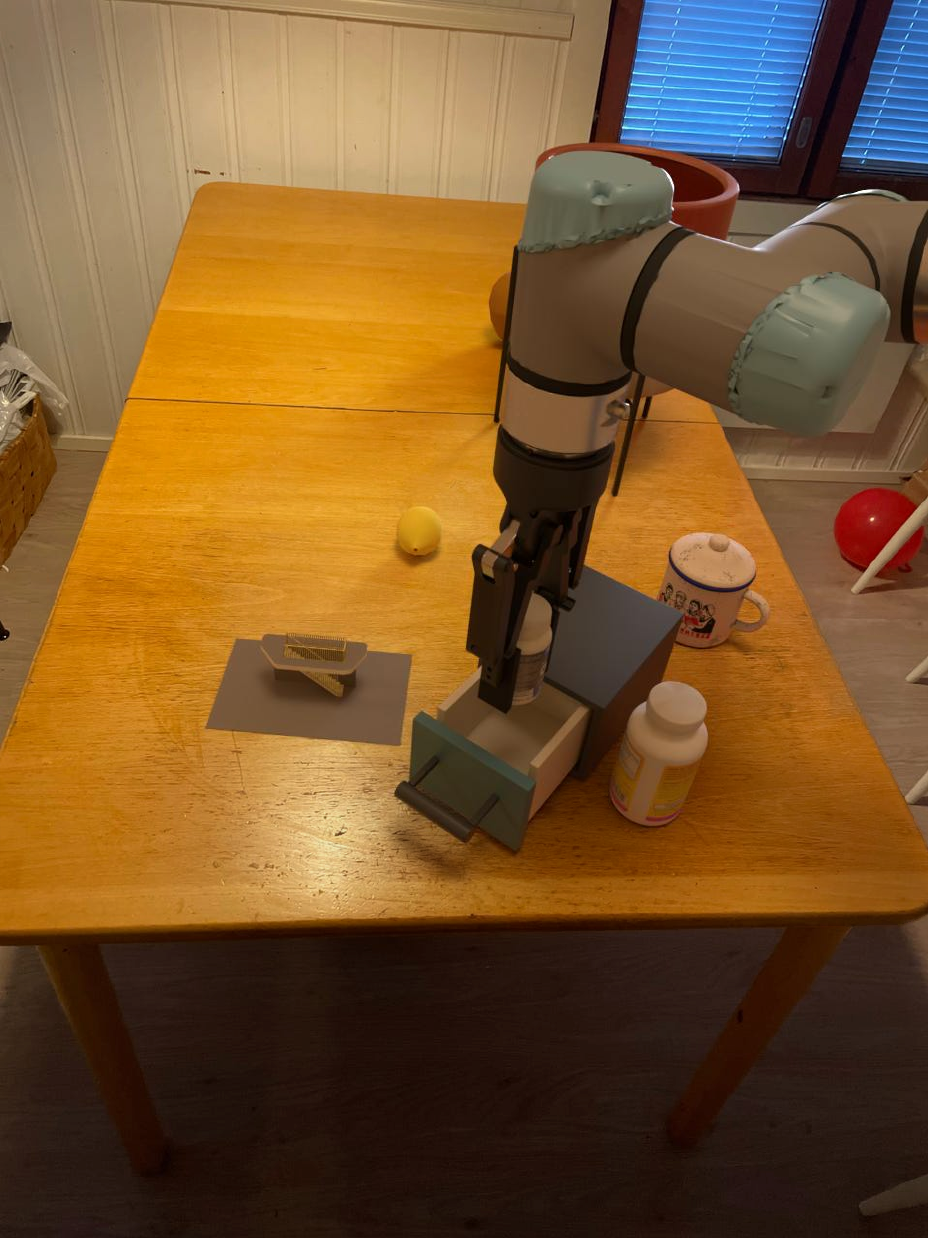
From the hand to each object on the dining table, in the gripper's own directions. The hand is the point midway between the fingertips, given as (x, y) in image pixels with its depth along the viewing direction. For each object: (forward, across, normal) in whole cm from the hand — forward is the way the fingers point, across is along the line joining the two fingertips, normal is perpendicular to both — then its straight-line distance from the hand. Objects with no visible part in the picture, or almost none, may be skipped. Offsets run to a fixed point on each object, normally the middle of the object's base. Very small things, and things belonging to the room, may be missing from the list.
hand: (513, 683), depth 71 cm
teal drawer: (+12, -1, 0) cm, 12 cm away
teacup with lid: (+13, +32, -6) cm, 35 cm away
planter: (+13, +56, +23) cm, 62 cm away
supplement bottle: (+13, +7, -12) cm, 19 cm away
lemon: (+13, +22, +26) cm, 36 cm away
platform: (+13, -2, +20) cm, 24 cm away
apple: (+13, +76, +47) cm, 91 cm away
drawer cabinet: (+13, +12, 0) cm, 18 cm away
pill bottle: (0, 0, 0) cm, 0 cm away
